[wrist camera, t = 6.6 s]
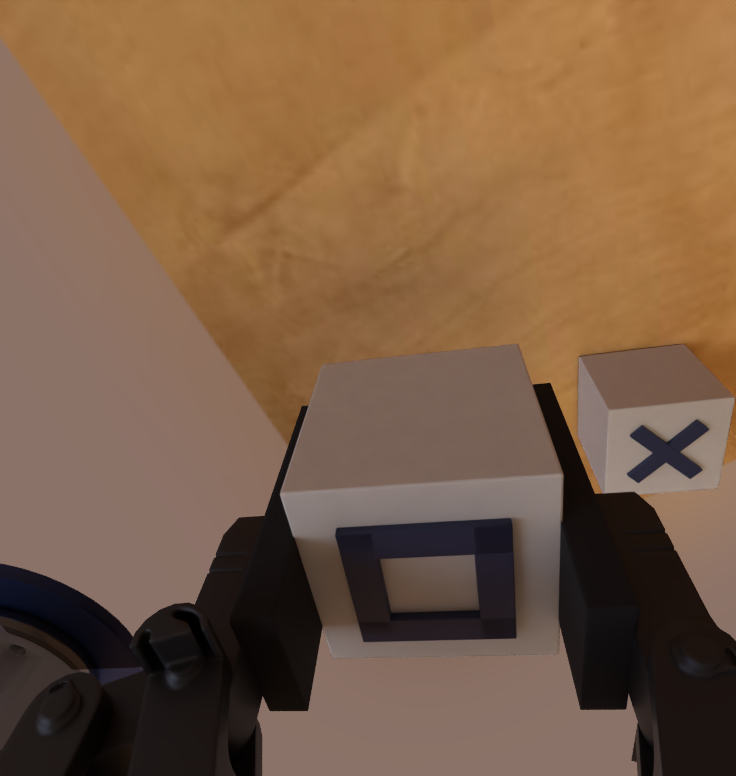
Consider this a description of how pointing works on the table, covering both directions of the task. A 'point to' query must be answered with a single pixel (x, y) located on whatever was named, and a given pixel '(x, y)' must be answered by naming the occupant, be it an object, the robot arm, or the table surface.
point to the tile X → (653, 420)
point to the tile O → (429, 507)
